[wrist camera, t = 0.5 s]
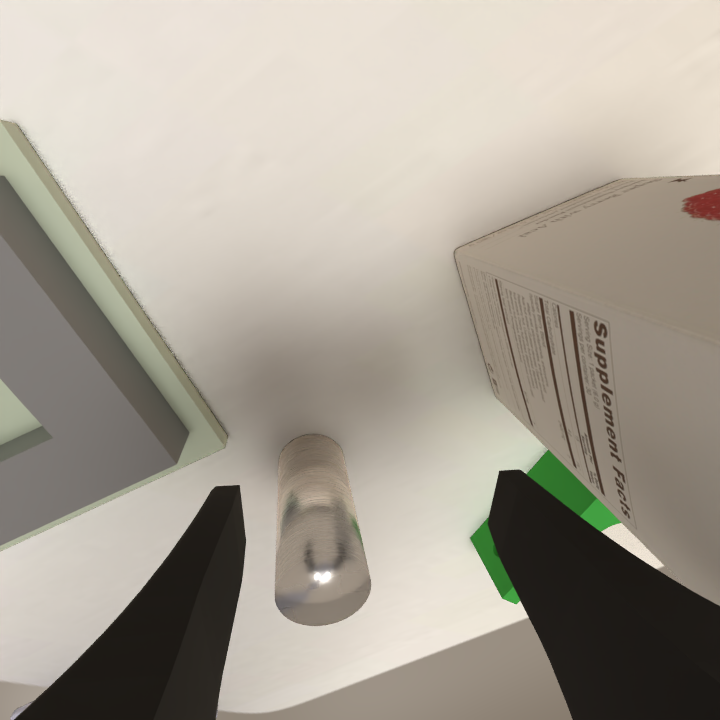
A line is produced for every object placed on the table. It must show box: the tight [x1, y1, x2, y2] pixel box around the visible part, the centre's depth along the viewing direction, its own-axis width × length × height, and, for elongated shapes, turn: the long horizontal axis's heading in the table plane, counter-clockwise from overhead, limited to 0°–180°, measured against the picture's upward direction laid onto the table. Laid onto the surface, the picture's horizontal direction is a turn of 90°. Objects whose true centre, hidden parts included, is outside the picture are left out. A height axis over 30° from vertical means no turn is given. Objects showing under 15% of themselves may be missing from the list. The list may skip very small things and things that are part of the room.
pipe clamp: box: [470, 450, 621, 604], centre depth 24 cm, size 11×4×5 cm, turn 145°
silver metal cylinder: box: [275, 434, 371, 626], centre depth 19 cm, size 4×4×8 cm
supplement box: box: [454, 175, 720, 606], centre depth 14 cm, size 9×9×15 cm
